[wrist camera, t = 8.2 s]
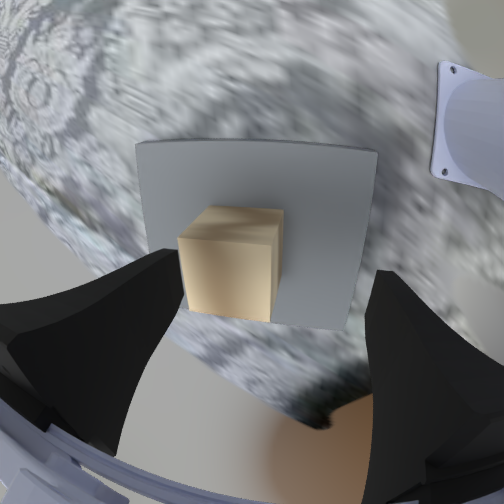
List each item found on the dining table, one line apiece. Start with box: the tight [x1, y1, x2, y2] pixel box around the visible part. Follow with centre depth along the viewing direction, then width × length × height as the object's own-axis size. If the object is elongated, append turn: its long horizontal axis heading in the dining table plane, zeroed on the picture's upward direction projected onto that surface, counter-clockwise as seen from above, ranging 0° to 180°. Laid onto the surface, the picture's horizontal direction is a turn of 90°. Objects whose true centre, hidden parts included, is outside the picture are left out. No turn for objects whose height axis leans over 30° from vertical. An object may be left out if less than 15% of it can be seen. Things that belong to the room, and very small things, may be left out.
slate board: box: [135, 139, 378, 331], centre depth 21 cm, size 16×14×1 cm
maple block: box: [177, 205, 284, 322], centre depth 18 cm, size 5×5×5 cm
